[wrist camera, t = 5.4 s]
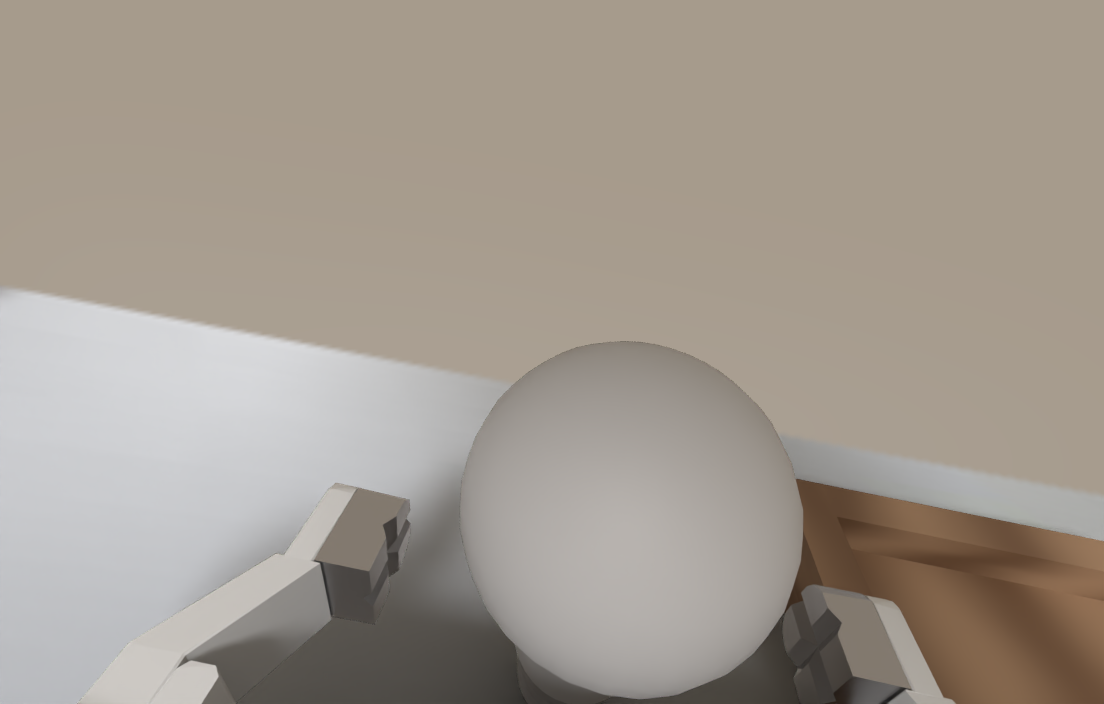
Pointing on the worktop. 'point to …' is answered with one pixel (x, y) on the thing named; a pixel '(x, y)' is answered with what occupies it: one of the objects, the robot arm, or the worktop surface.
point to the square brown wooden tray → (967, 593)
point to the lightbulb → (629, 523)
